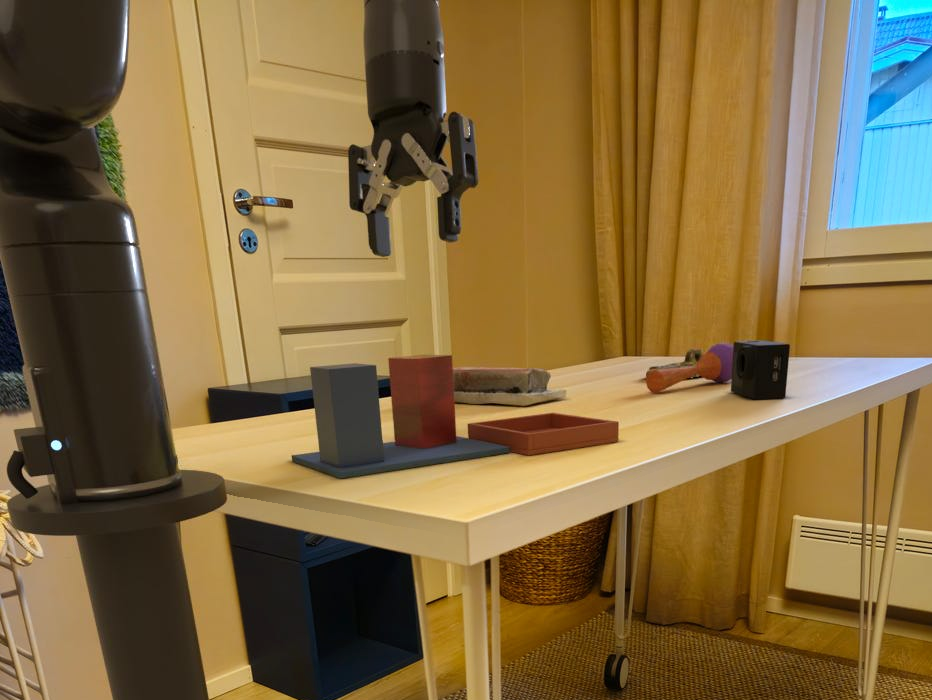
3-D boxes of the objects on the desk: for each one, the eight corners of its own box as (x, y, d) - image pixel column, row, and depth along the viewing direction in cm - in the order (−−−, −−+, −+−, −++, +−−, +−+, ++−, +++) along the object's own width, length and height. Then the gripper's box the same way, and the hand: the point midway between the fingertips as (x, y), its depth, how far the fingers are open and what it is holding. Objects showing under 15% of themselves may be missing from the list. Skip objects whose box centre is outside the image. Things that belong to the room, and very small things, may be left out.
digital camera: (721, 392, 123) (724, 341, 121) (759, 390, 124) (763, 339, 121) (744, 400, 114) (748, 345, 111) (785, 398, 114) (790, 343, 111)
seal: (676, 388, 141) (722, 378, 151) (680, 358, 139) (726, 350, 149) (630, 379, 147) (677, 371, 156) (633, 351, 144) (680, 344, 154)
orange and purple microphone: (635, 364, 127) (714, 344, 139) (642, 404, 129) (719, 381, 140) (667, 357, 123) (746, 337, 134) (674, 399, 124) (751, 375, 136)
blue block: (339, 468, 77) (329, 369, 73) (320, 461, 80) (309, 366, 77) (384, 461, 79) (376, 365, 76) (364, 455, 82) (355, 363, 79)
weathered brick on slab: (428, 368, 126) (471, 363, 133) (430, 402, 128) (472, 395, 135) (526, 370, 115) (567, 364, 122) (526, 407, 117) (567, 399, 124)
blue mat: (340, 478, 75) (339, 471, 75) (291, 461, 85) (291, 455, 84) (510, 452, 84) (509, 446, 83) (448, 439, 93) (448, 434, 93)
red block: (423, 448, 84) (417, 358, 81) (394, 445, 87) (388, 358, 84) (456, 442, 87) (452, 355, 84) (428, 439, 90) (422, 354, 87)
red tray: (528, 455, 82) (528, 434, 81) (468, 442, 91) (467, 423, 90) (618, 441, 87) (618, 421, 86) (553, 430, 96) (552, 412, 95)
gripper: (322, 73, 82) (335, 254, 85) (440, 25, 74) (449, 227, 77) (374, 97, 88) (385, 266, 91) (489, 56, 80) (495, 242, 83)
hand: (414, 248), depth 84 cm, fingers open, 8 cm apart
